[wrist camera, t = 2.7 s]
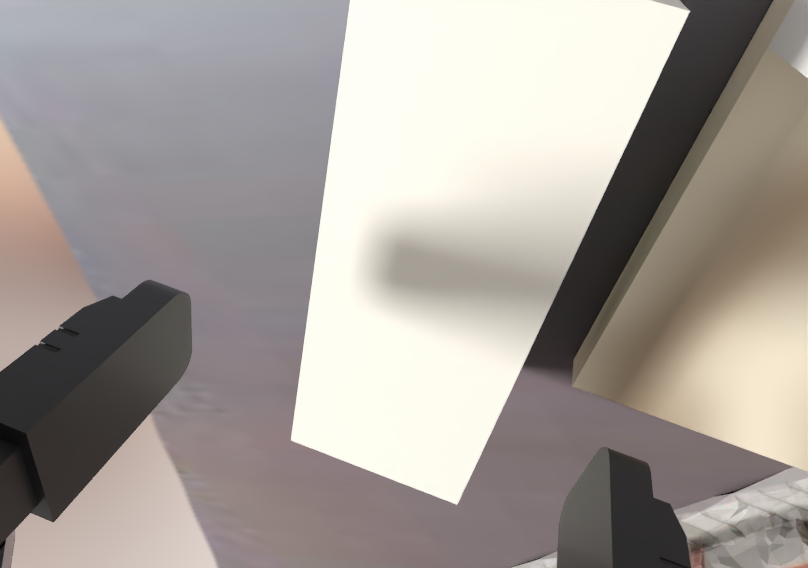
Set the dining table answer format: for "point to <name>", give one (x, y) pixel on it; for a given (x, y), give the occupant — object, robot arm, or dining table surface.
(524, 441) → the dining table surface
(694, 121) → the dining table surface
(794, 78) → the shelf board
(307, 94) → the dining table surface
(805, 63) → the rail
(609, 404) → the dining table surface
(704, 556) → the packaged product
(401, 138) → the carton
